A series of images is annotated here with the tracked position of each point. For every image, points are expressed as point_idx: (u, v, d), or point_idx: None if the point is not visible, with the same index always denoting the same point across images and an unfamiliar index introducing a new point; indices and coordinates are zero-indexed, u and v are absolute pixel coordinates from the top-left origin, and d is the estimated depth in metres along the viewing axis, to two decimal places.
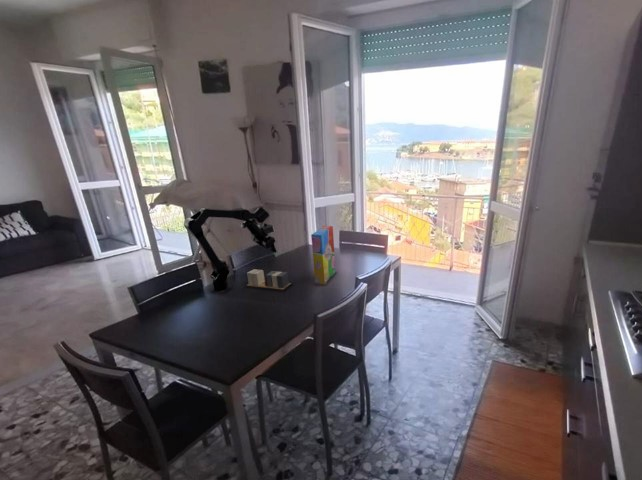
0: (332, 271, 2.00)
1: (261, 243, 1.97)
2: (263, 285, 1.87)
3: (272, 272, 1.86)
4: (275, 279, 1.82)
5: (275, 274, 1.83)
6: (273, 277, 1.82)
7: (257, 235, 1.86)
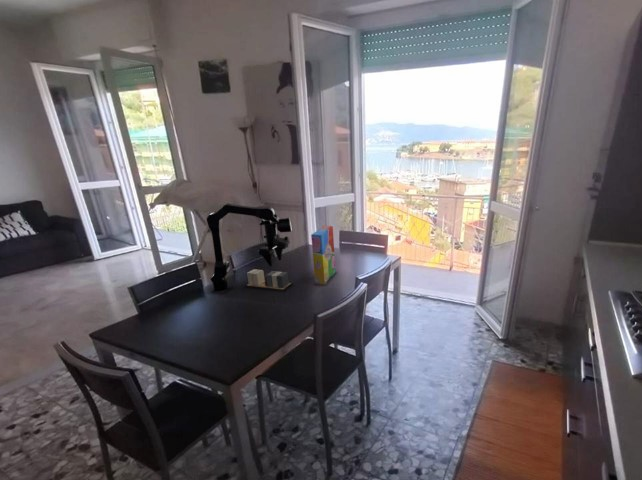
0: (332, 271, 2.00)
1: (276, 250, 1.85)
2: (263, 285, 1.87)
3: (272, 272, 1.86)
4: (275, 279, 1.82)
5: (275, 274, 1.83)
6: (273, 277, 1.82)
7: (266, 239, 1.75)
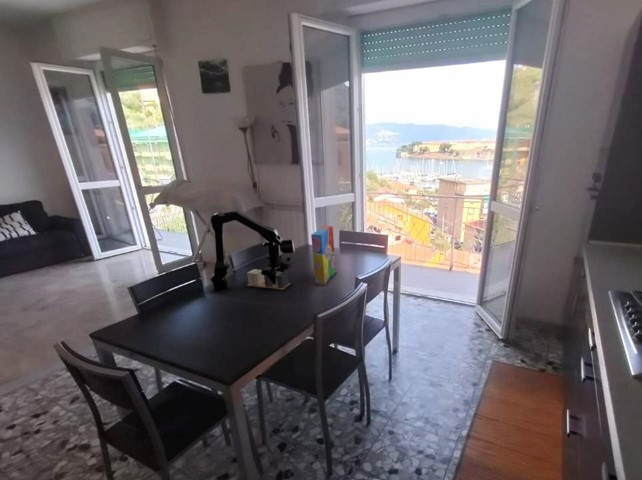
0: (332, 271, 2.00)
1: (278, 271, 1.88)
2: (263, 285, 1.87)
3: None
4: None
5: None
6: None
7: (269, 259, 1.79)
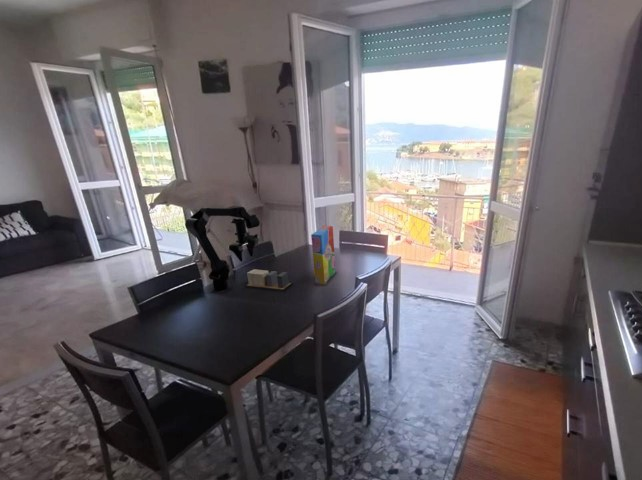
0: (332, 271, 2.00)
1: (248, 247, 1.96)
2: None
3: (272, 272, 1.86)
4: (261, 278, 1.85)
5: (261, 273, 1.85)
6: (259, 276, 1.85)
7: (237, 236, 1.87)
